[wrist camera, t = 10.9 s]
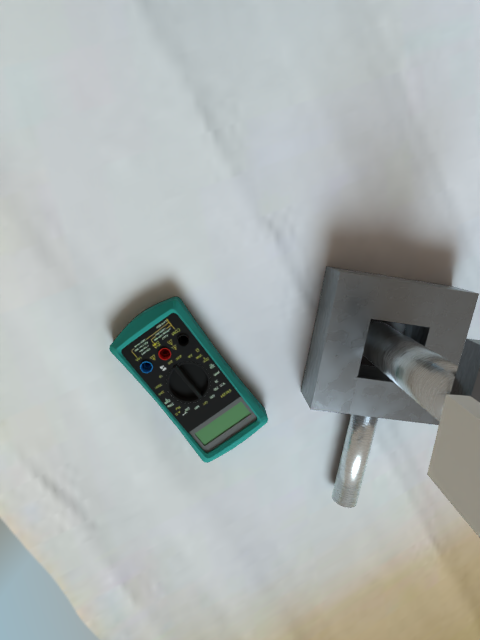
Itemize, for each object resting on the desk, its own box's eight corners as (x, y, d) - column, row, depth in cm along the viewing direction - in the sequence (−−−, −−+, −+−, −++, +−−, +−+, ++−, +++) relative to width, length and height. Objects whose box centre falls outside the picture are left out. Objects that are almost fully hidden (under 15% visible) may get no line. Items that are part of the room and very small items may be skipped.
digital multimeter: (174, 288, 38) (171, 294, 35) (268, 411, 41) (272, 425, 38) (109, 335, 38) (100, 345, 35) (206, 452, 42) (206, 470, 39)
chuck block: (326, 266, 38) (340, 271, 34) (452, 286, 39) (479, 293, 35) (281, 483, 42) (289, 510, 39) (395, 494, 44) (413, 521, 40)
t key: (366, 295, 39) (470, 345, 23) (403, 300, 39) (530, 353, 24) (347, 377, 40) (432, 474, 25) (383, 381, 41) (489, 480, 25)
